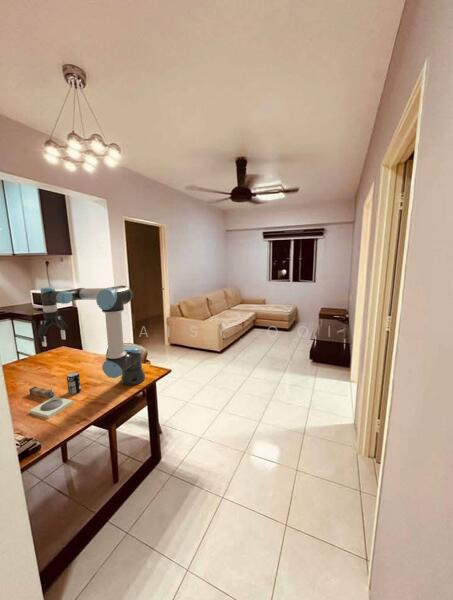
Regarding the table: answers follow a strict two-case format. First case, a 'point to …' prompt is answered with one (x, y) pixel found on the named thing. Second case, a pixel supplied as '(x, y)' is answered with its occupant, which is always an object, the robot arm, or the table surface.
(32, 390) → the brown grey-ended bar
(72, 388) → the beverage can
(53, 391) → the hinge pin
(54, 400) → the board
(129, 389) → the table surface
